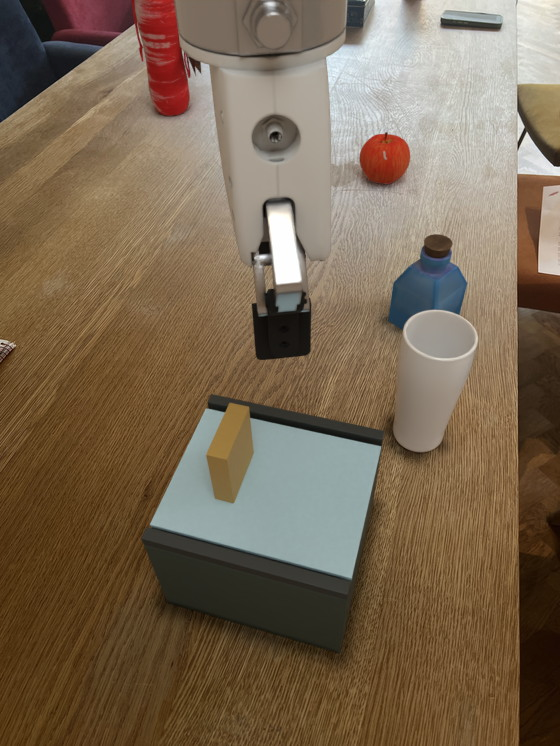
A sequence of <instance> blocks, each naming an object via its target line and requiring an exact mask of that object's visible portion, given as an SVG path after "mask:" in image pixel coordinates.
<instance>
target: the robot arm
mask: <svg viewBox="0 0 560 746" xmlns="http://www.w3.org/2000/svg"><path fill="white" fill-rule="evenodd" d="M174 4H175V12H176V19H177V27H178V32H179V41H180V47H181V48H182V53H183V54H184V53H186V54H187V55H188V56H189V57H191V58H193V59H195V60H197V61H199V62H201V64H205V65H208V67H209V76H210V83H211V84H210V85H211V93H212V100H213V101H212V103H213V111H214V112H213V113H214V118H215V128H216V135H217V143H218V150H219V156H220V163H221V169H222V176H223V181H224V187H225V193H226V199H227V203H228V209H229V214H230V218H231V223H232V228H233V232H234V237H235V241H236V242H235V243H236V246H237V251H238V255H239V259H240V262H242V263H243V264H244V265H245V266H247V267H248V268H250V269H251V268H252V272H253V273H252V274H253V282H254V290H255V302H252V303H251V314H252V326H253V339H254V349H255V350H254V351H255V358H256V359H257V360H259V361H268V360H269V361H270V360H279V359H287V358H299V357H305V356H308V355H309V354H310V353H311V350H312V349H311V347H312V346H311V345H312V344H311V343H312V301H311V297H310V291H309V281H308V279H309V278H308V270H307V258H308V259H309V261H310V262H318V261H320V262H325V261H326V260H327V259H328V258H329V257H330V255H331V254H332V123H331V122H332V120H331V119H332V118H331V99H330V84H329V72H328V62H327V61H328V59H327V58H328V57H330V56H331V55H333V54H334V53H335V54H336V52H337V51H339V50H340V49H341V48H342V47H343V46H344V44H345V42H346V37H347V36H346V34H347V17H348V0H174ZM265 267H271V270H272V271H271V272H272V288H268V289H266V277H265Z"/></svg>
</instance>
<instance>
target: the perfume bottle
mask: <svg viewBox="0 0 560 746" xmlns="http://www.w3.org/2000/svg"><path fill="white" fill-rule="evenodd" d="M453 245H454V244H453V241H452V238H450V237H448V236H446V235H444V234H441V233H440V234H438V233H437V234H436V233H434V234H430V235H427V236H426V237H424V239H423V246H422V247H421V249H420V254H419V259H418V260H416V261H415V262H413V263H412V264H410V265H409V266H407V267H406V268H405V270H404V271H403V272H402V273H401V274H400V275H399V276H398V277H397V278H396V279H395V280H394V282H392V289H391V297H390V305H389V312H388V319H387V320H388V322H389V323H391V324H392V325H394V326H396V327H397V328H398V329H400V330H402V331H403V328H404V325H405V323H406V322H407V320H408V319H409V318H411V317H412V316H413V315H415V314H417V313H419V312H422V311H427V310H444V311H449V312H453V313H455V314H458V315H460V314H461V310H462V306H463V303H464V299H465V295H466V291H467V287H468V281H467V279H466V277H465V276H464V274H463V273H462V271H461V269H460V267H459V265H457V264H455V263H453V262H451V260H452V255H453V251H452V246H453ZM460 316H461V315H460Z"/></svg>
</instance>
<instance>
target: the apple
mask: <svg viewBox="0 0 560 746" xmlns="http://www.w3.org/2000/svg"><path fill="white" fill-rule="evenodd" d="M358 159H359V166H360V167H361V171H362V172H363V174H364V175H365V176H366V178H367V179H368V180H369V181H370V182H373V183H376V184H383V185H384V184H385V185H388V184H392V183H395V182H396V181H398V180H399V179H400V178H402V177H403V175H405V174H406V172H407V170H408V168H409V166H410V162H411V150H410V146H409V144H408V142H407V140H405V139H404V138H402V137H401V136H398V135H396V134H390V133H389V132H388V131H386V132H384V133H378V134H374V135H372V136H371V137H370V138H369V139H367V140H366V141H365V143H364V144H363V145H362V147H361V149H360V152H359V158H358Z"/></svg>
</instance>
